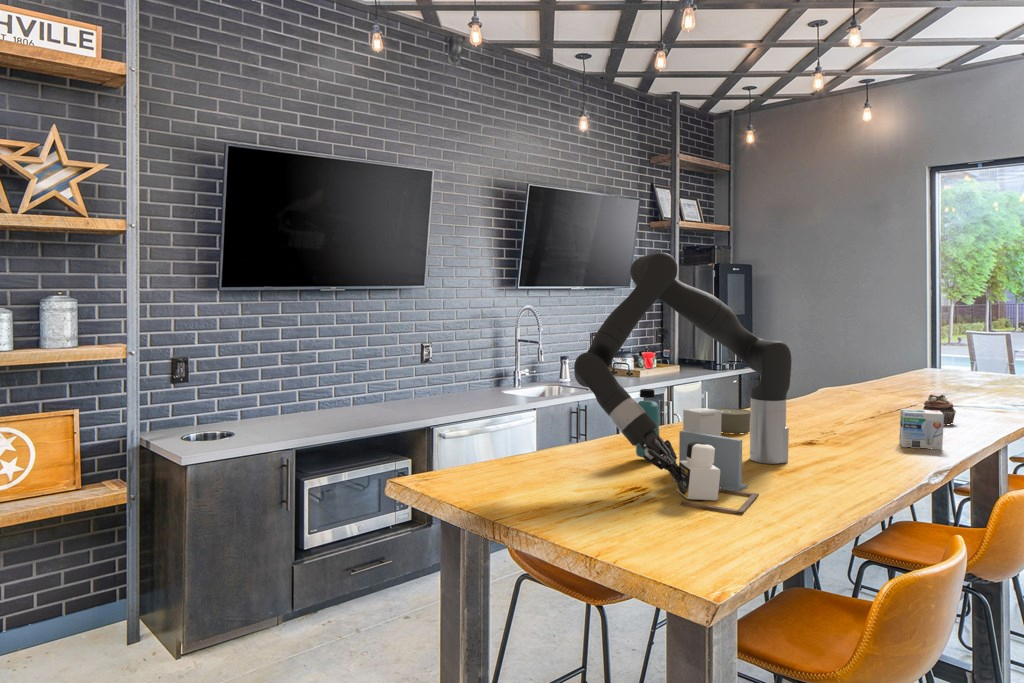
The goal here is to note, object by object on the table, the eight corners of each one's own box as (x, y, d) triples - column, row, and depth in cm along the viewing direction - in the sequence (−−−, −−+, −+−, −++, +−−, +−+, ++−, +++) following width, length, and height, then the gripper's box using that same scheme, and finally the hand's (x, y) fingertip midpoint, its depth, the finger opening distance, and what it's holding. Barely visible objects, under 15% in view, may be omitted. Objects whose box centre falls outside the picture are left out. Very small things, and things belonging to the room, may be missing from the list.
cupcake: (930, 425, 236) (931, 396, 235) (918, 420, 245) (919, 392, 245) (960, 426, 234) (961, 397, 234) (947, 421, 244) (948, 393, 243)
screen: (672, 480, 169) (673, 432, 168) (688, 475, 174) (688, 428, 173) (732, 493, 157) (733, 442, 156) (747, 487, 162) (748, 437, 161)
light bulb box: (901, 447, 203) (902, 411, 202) (898, 443, 209) (899, 408, 208) (943, 450, 199) (945, 413, 198) (939, 445, 205) (940, 410, 204)
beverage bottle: (659, 463, 186) (660, 390, 184) (634, 462, 187) (635, 390, 186) (659, 458, 192) (659, 387, 191) (635, 457, 193) (635, 387, 192)
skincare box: (698, 472, 176) (698, 412, 175) (680, 467, 182) (681, 409, 181) (722, 468, 180) (723, 410, 179) (704, 463, 186) (705, 406, 185)
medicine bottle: (676, 490, 158) (681, 439, 157) (706, 492, 159) (710, 441, 158) (686, 499, 151) (691, 446, 150) (718, 501, 152) (723, 447, 151)
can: (755, 435, 223) (756, 414, 223) (718, 435, 224) (719, 414, 223) (743, 427, 235) (744, 408, 235) (708, 428, 235) (709, 408, 235)
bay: (680, 505, 149) (680, 502, 149) (700, 488, 162) (700, 485, 162) (742, 515, 142) (742, 512, 142) (758, 496, 155) (758, 493, 155)
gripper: (632, 415, 155) (685, 476, 149) (653, 407, 166) (702, 463, 160) (611, 436, 158) (661, 496, 153) (632, 426, 169) (680, 482, 164)
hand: (682, 479), depth 157 cm, fingers closed
